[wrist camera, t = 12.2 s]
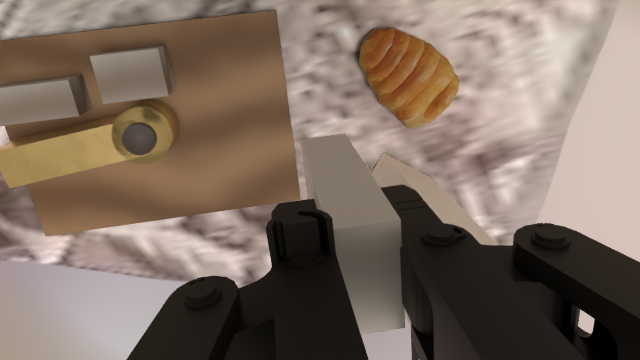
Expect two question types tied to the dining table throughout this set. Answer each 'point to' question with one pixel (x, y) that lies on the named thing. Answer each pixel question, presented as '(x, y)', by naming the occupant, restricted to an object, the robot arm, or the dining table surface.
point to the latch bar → (86, 145)
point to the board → (207, 115)
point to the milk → (427, 196)
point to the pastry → (407, 75)
